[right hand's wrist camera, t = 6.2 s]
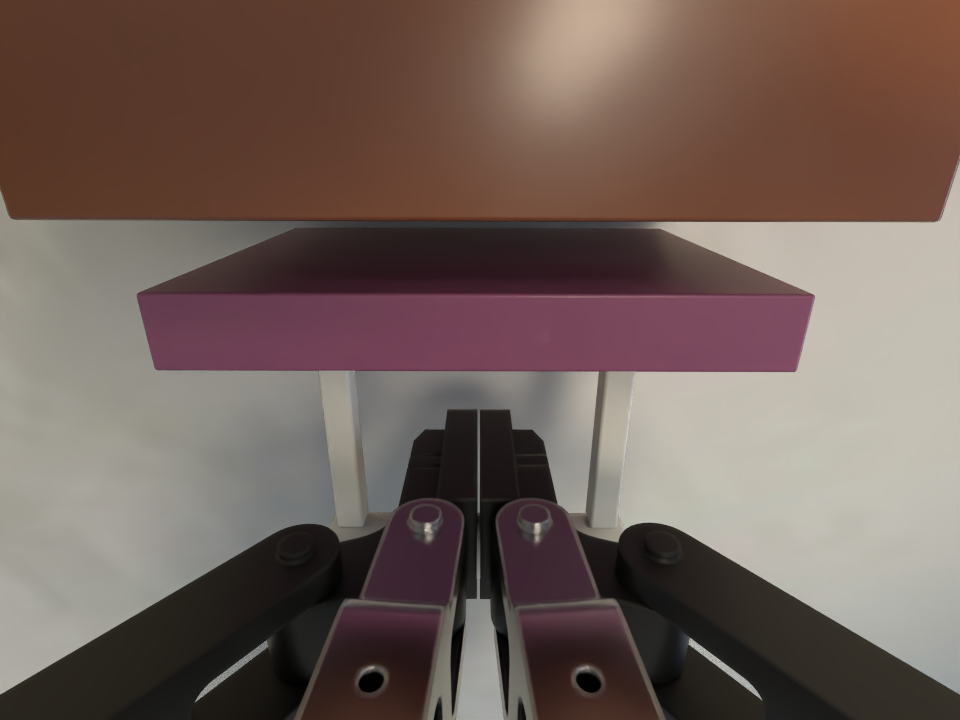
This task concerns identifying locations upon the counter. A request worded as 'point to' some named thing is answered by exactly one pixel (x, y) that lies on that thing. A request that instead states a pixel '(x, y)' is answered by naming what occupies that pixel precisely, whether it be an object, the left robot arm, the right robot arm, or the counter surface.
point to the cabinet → (479, 110)
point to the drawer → (476, 324)
